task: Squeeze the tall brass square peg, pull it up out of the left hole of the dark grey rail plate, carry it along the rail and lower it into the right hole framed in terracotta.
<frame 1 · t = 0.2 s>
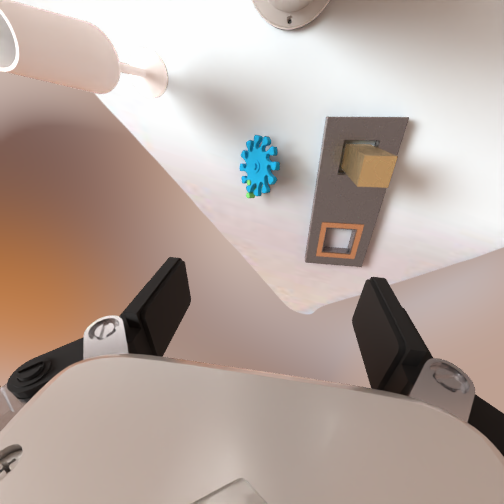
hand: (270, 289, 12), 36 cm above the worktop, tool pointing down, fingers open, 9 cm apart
peg: (355, 156, 40), resting in rail plate
rail plate: (345, 200, 44), on the worktop
gear: (259, 165, 43), on the worktop
champagne flute: (149, 74, 38), on the worktop
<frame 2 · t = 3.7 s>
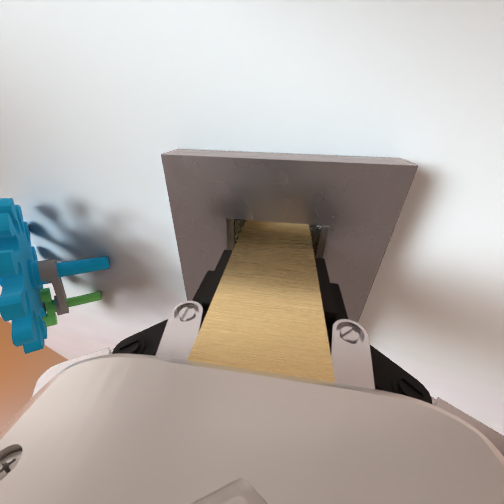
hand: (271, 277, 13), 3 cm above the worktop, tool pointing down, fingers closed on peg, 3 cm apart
peg: (274, 247, 15), resting in rail plate, touching gripper
rail plate: (268, 326, 20), on the worktop
gear: (73, 251, 19), on the worktop
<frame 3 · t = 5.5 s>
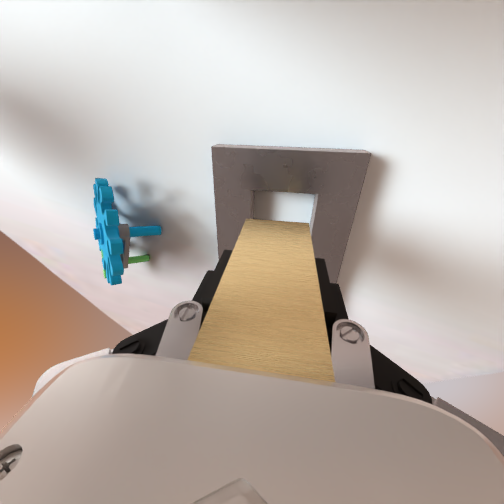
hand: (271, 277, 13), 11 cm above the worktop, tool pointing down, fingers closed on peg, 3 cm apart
peg: (274, 247, 16), point 7 cm above the worktop, touching gripper
rail plate: (275, 280, 26), on the worktop
gear: (132, 221, 25), on the worktop
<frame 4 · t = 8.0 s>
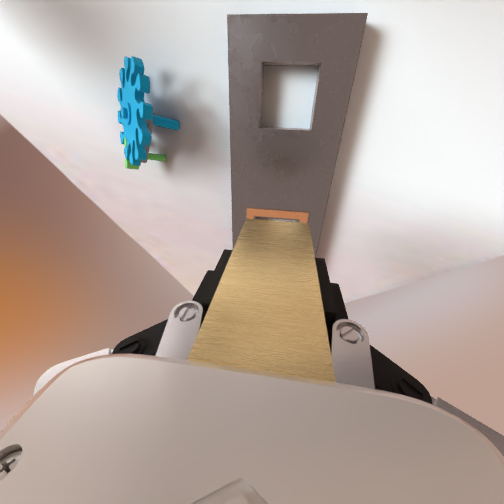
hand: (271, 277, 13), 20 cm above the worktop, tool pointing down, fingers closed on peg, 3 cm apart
peg: (274, 247, 15), point 16 cm above the worktop, touching gripper
rail plate: (280, 174, 29), on the worktop
gear: (151, 119, 28), on the worktop
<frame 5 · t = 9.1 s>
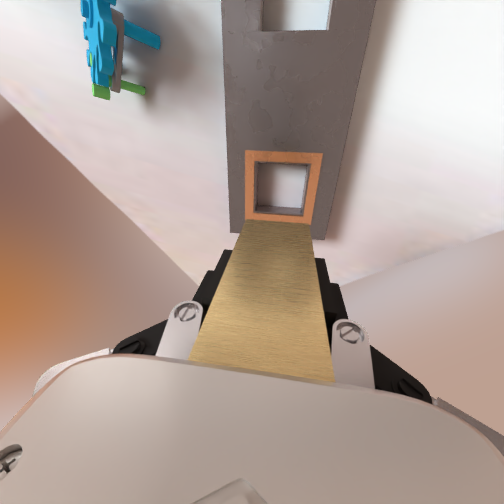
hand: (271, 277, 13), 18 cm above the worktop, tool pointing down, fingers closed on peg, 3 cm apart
peg: (274, 248, 15), point 14 cm above the worktop, touching gripper
rail plate: (287, 106, 23), on the worktop
gear: (126, 36, 22), on the worktop
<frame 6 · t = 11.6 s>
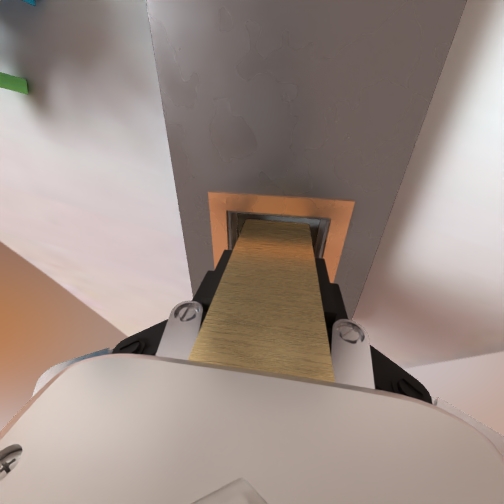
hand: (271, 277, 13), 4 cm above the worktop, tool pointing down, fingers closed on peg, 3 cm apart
peg: (274, 248, 15), point 1 cm above the worktop, touching gripper
rail plate: (286, 110, 12), on the worktop
when the fingers open (4 cm above the worktop, at t = 12.0 s): peg stays where it is, resting in rail plate.
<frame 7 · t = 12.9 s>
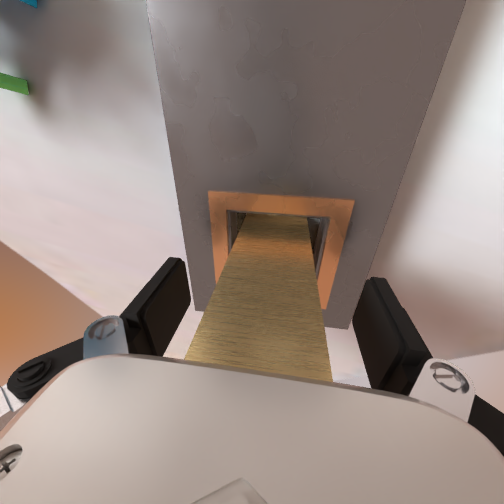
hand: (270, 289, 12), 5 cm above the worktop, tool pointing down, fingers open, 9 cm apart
peg: (274, 240, 16), resting in rail plate
rail plate: (286, 110, 12), on the worktop
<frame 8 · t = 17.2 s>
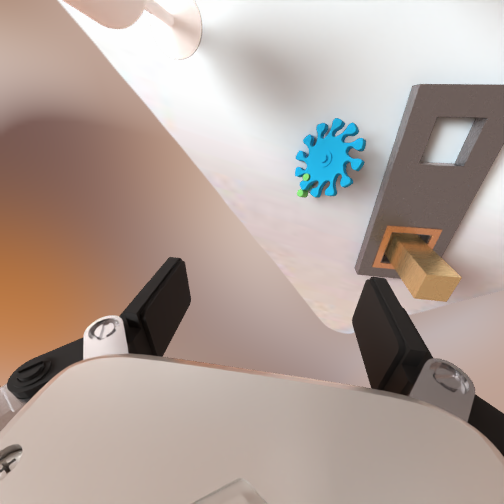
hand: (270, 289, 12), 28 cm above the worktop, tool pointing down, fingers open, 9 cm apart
peg: (399, 243, 39), resting in rail plate
rail plate: (418, 198, 35), on the worktop
gear: (320, 158, 34), on the worktop
champagne flute: (176, 25, 29), on the worktop
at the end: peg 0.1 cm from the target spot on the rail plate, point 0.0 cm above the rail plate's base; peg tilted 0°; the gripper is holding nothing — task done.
